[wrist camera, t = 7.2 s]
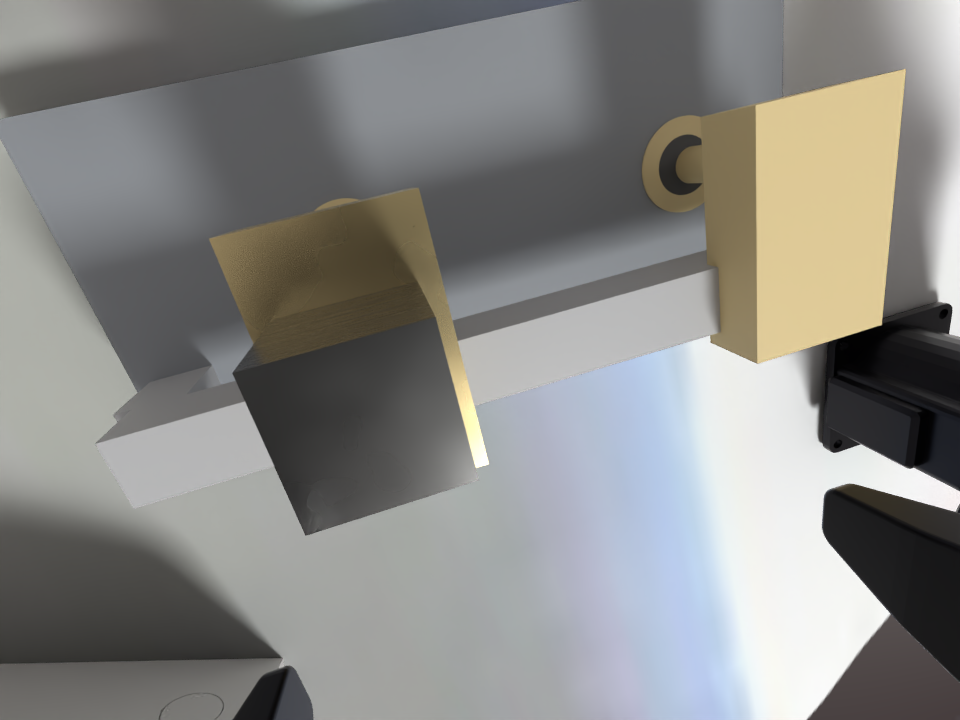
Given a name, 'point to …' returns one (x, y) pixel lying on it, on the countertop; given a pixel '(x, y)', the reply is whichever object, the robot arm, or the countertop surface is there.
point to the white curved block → (130, 689)
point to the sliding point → (352, 358)
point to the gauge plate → (479, 203)
